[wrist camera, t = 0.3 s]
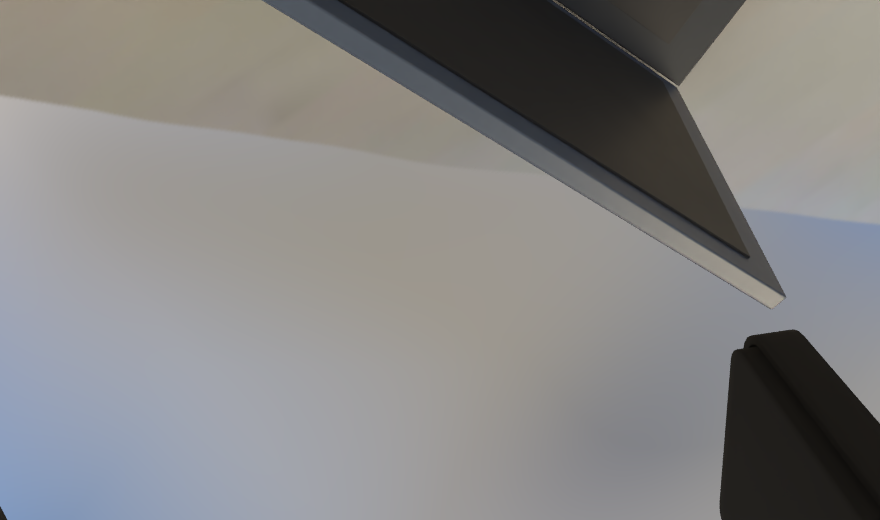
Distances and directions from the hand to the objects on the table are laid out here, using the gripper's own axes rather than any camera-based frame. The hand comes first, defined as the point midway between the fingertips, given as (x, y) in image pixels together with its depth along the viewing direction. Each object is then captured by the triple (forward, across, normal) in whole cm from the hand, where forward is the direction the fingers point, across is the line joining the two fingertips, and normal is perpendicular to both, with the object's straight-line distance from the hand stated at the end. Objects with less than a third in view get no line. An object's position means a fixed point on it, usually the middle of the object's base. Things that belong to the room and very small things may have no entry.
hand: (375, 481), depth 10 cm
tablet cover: (+22, -5, 0) cm, 23 cm away
